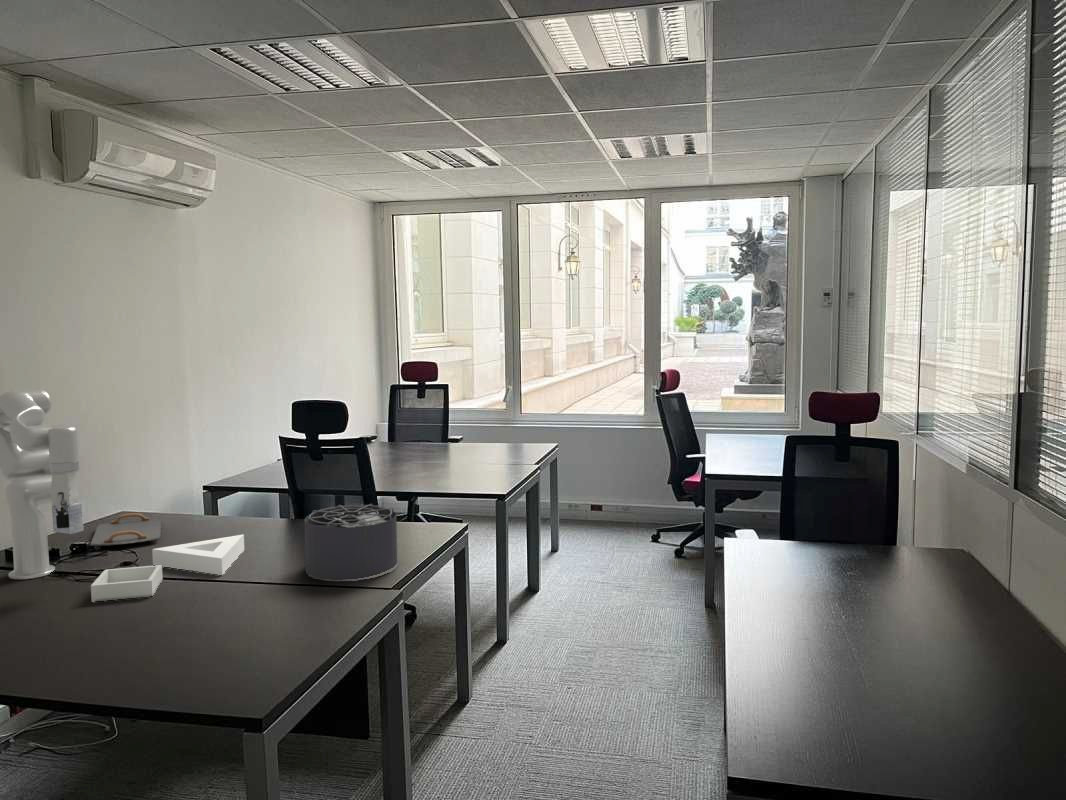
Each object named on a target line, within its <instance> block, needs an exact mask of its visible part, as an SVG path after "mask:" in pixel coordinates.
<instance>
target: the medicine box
mask: <svg viewBox="0 0 1066 800" xmlns="http://www.w3.org/2000/svg"><path fill="white" fill-rule="evenodd" d="M55 509H56V507H53V506H52V505H51V515H52V528H53V529H52V530H53V532H55V533H62V534H67V535H73V534H77V533H82V532H83V531H84V530H85V529H84V522H83V521H84V519H83V506H82V503H81V502H77V503H73V504H72V505H70V506H68V513H67V514H69V527H68V528H57V523H56V510H55ZM64 510H65V507H64Z"/></svg>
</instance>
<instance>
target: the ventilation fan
mask: <svg viewBox="0 0 1066 800" xmlns="http://www.w3.org/2000/svg"><path fill="white" fill-rule="evenodd" d="M397 526H398V525H397V512H395V511H394V508H393V507H386V506H380V505H374V504H373V503H370V504H350V505H341V504H338V505H337V506H331V507H326V508H323V509H319V510H312V511H311V513H310V514H308V515H307V516H306V517H305V518H304V543H305V544H304V545H305V571H307V573H308V574H310V575H312V576H314V577H317V578H321V579H331V580H343V579H345V580H346V579H358V578H364V577H369V576H373V575H377V574H380V573H382V572H385V571H387V570H389V569H391V568H393V567H394V566H395V565H396V564H397V562H398V538H397V537H398V534H397V532H398V531H397V530H398V529H397Z"/></svg>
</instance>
